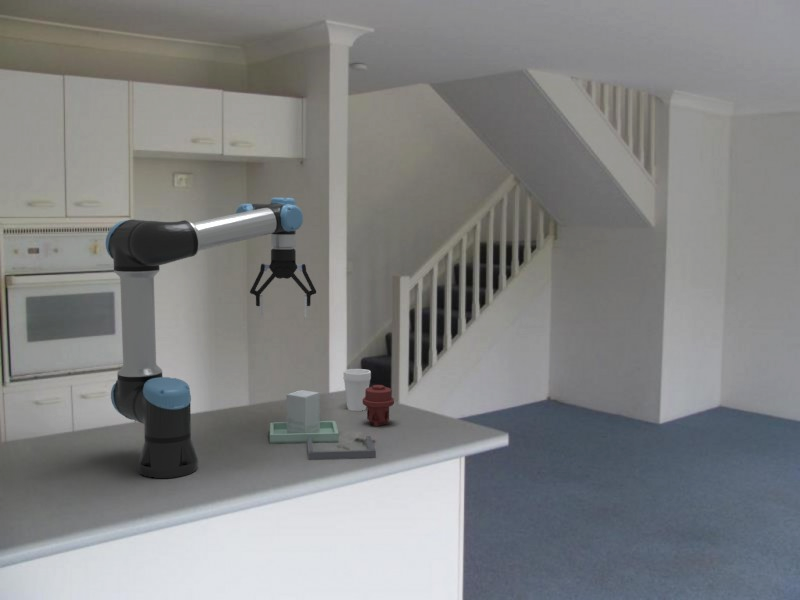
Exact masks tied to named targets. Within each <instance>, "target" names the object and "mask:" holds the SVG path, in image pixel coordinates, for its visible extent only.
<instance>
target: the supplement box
mask: <svg viewBox="0 0 800 600" xmlns="http://www.w3.org/2000/svg"><path fill="white" fill-rule="evenodd" d="M320 395H321V394H320V392H317V391H312V390H311V391H310V390H305V389H304V390H303V389H300V390H297V391H293V392H291V393H287V394H286V422H287V434H295V433H320V421H321V419H320V415H321V413H320V411H321V410H320V408H321V407H320V406H321V405H320V404H321V403H320Z"/></svg>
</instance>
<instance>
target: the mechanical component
mask: <svg viewBox="0 0 800 600" xmlns="http://www.w3.org/2000/svg"><path fill="white" fill-rule="evenodd" d="M392 392H393V391H392V389H391V388H390V387H386V386H385V385H383V384H373V385H372V386H369V388H367V389H365V397H364V398H363V404H364V405H365V406H366V413H367V416H366V418H367V420H368V421H369V423H371V424H373V426H374V427H376V426H377V427H379V426H382V425H387V424H389V420H390V407H392V406H393V405H394V404H395V399H394V398H393V397H392ZM381 424H382V425H381Z"/></svg>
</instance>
